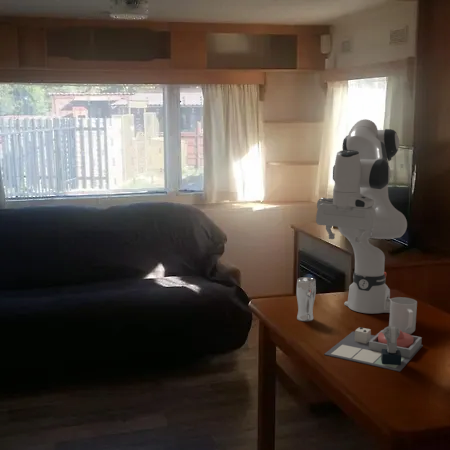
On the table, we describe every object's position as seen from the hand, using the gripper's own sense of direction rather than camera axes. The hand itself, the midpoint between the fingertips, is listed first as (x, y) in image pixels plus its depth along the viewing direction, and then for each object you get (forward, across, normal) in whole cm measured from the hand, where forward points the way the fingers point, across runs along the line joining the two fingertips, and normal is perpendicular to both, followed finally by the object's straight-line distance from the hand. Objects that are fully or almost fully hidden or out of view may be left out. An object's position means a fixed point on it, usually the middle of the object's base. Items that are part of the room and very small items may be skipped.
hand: (344, 240), depth 211 cm
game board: (+33, +15, -9) cm, 37 cm away
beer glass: (+33, -17, +8) cm, 38 cm away
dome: (+32, +20, -3) cm, 38 cm away
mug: (+33, +18, +13) cm, 40 cm away
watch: (+33, +22, -16) cm, 43 cm away
